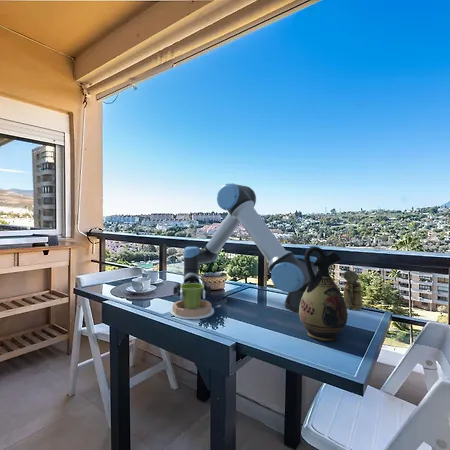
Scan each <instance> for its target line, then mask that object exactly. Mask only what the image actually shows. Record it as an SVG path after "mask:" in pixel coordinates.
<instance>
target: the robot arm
mask: <svg viewBox="0 0 450 450" xmlns="http://www.w3.org/2000/svg"><path fill="white" fill-rule="evenodd" d="M216 194H217V196H216V203H217V205H218V206H219V208H220V209H222V210H224V211H227V212H228V213H227V215H226V216H225V218H224V219H223V221H222V222H221V224H220V225H219V226H218V227H217V229H216V231H215V232H214V234H213V235H212V237H211V238H210V239H209V241H208V242H207V244H206V245H205V246H204V247H203V248H202V249H200V247H198V246H186V247H184V250H183V251H184V252H183V283H180V282H176V284H175V286H173V295H176V294H177V297H179V299H180V300H183V291H182V288H181V286H182V285H184V284H190V283H197V284H202V285H204V288H203V290H202V294H201V296H202V300H206V296H207V295H208V294H211V293H212V287H211V286H210V285H209V284H208V282H203V283H201V281H200V275H199V274H200V273H199V272H200V270H199V269H200V265H203V264H209V263H213V262H216V261H217V260H218V258H219V252H220V251H221V249H222V248H223V246H224V245H225V244H226V243H227V242H228V240H229V239H230V238H231V236H232V235H233V233H234V232H235V231H236V229H237V228H238V226H239V225H240V224H241V226H242V227H243V229H244V230H245V232H246V234H248V236H249V237H250V238H251V240H252V241H253V243H254V244H255V245H256V246H257V248H258V249H259V251H260V252H261V254H262V255H263V257H264V258H265V260H266V261H267V262H268V267H267V268H268V270H269V271H270V274H271V277H270V278H271V282H272V283H273V285H274V286H275V288H277V289H278V290H279V291H281V292H284V293H287V294H286V298H285V300H284V307H285V309H287V310H289V311H291V312H294V313H299V306H300V302H301V298H302V296H303V294H304V292H305V290H306V289H307V287H308V284H309V280H310V277H309V273H308V270H307V267H306V263H305V259H304V255H297V254H294V253H293V251H290V250H286V249H285V248H284V246H283V245H282V243H281V242H280V241H279V239H278V238H277V237H276V235H275V234H274V233H273V232H272V230H271V229H270V227H269V226H268V225H267V224H266V222H265V221H264V220H263V218H262V217H261V216H260V214H259V213H258V212H257V211H256V208H255V205H256V203H257V196H256V193H255V190H253V189H252V188H251V187H249V186H246V185H243V184H242V185H241V184H237V183H225V184H223V185H222V186H221V187H220V188H219V190H218V191H217V193H216ZM317 259H318V258H317V257H316V256H311V255H310V263H311V266H312V269H313V272H314V274H315V276H316V274H317V271H318V269H319V267H318V266H315V265H314V263H315V261H316V260H317Z"/></svg>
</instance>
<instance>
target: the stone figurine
mask: <svg viewBox="0 0 450 450" xmlns="http://www.w3.org/2000/svg"><path fill="white" fill-rule="evenodd" d="M342 275H343V278H344V280H345V284H344V291H343V298H344V301H345V304H346V308H349V309H348V310H351V309H361V308H363V309H364V304H363V298H362V291H363V290H362V283H361V282H359V275H358V274H357V272H355V271H353V270H351V269H349V270H346V271H344V272H343V274H342Z"/></svg>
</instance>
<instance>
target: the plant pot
mask: <svg viewBox="0 0 450 450" xmlns="http://www.w3.org/2000/svg"><path fill="white" fill-rule="evenodd" d="M202 284H203V283H201V284H197V283H190V284H184V285H182V286H181V288H182V291H183V293H182V298H183V300H184V304H185V307H186V308H188V309H194V308H199V307H200V301H201V300H202V299H201V298H202V290H203V288H204V285H202Z"/></svg>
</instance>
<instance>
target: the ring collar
mask: <svg viewBox="0 0 450 450" xmlns="http://www.w3.org/2000/svg"><path fill="white" fill-rule="evenodd" d="M170 313H171V314H172V315H174V316H176V317H179V318H178V319H180V318H183V319H182V320H188V319H193V320H202V319H206V318H209V317H211V316H212V315H214V313H215V309H214V307H212V302H210V301H208V300H206V299H201V301H200V307H199V308H194V309H188V308H186V307H185V304H184V299H180V300H178V301H175V302H174V303H173V305H172V308H171V309H170V310H169V314H170ZM171 314H170V315H171ZM172 315H171V316H172ZM176 317H175V318H176Z"/></svg>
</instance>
